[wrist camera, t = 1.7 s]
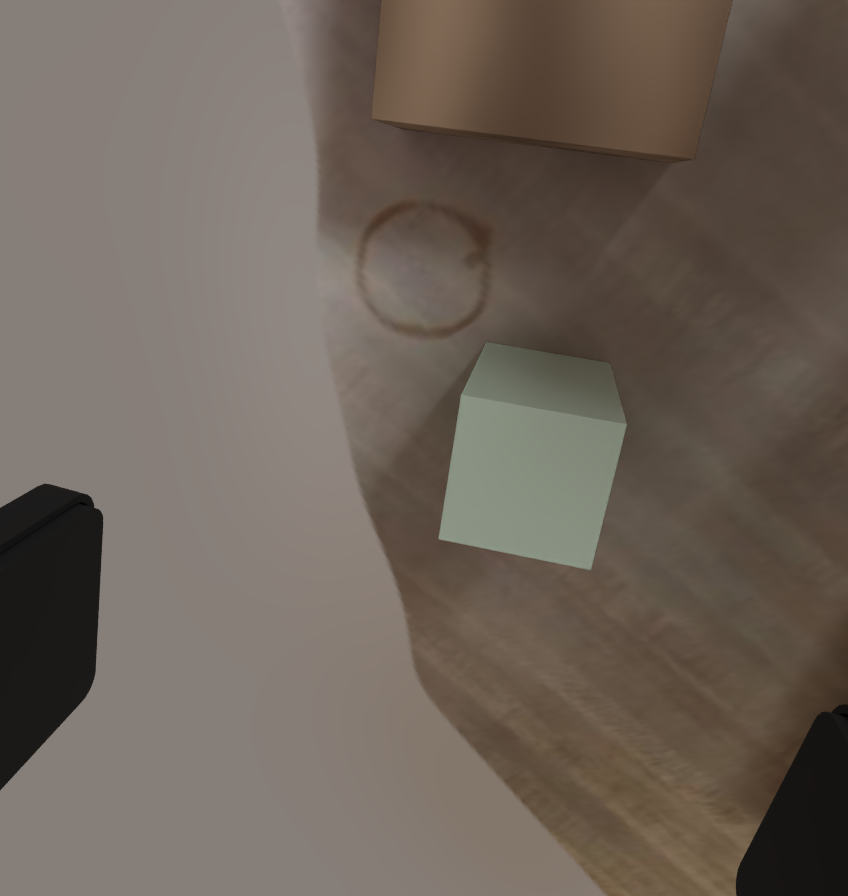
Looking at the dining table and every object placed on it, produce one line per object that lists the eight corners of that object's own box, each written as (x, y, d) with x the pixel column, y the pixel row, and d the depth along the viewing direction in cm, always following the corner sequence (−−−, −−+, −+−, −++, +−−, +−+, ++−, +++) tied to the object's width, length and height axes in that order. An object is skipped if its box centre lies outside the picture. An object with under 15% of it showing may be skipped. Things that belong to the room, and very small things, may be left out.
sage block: (609, 362, 29) (627, 424, 21) (583, 477, 31) (590, 570, 23) (485, 341, 29) (461, 395, 22) (467, 454, 31) (438, 539, 24)
